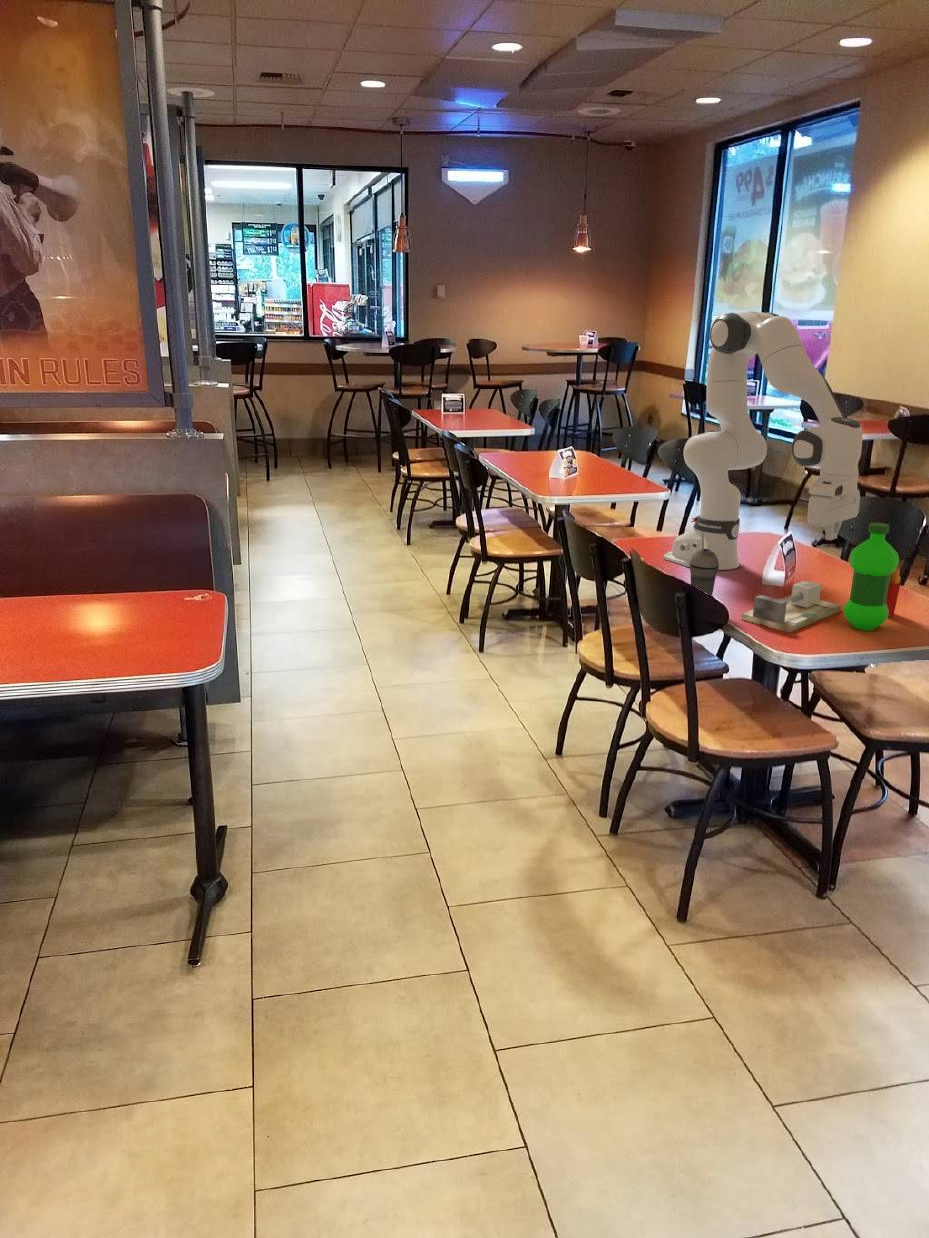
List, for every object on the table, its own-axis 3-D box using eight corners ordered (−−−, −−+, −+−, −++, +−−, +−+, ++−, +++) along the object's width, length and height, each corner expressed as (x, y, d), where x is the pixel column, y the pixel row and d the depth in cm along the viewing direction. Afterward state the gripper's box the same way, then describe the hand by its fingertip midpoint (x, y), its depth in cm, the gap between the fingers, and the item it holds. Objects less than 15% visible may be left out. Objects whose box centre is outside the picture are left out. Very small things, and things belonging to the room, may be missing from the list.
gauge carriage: (784, 606, 229) (787, 585, 227) (802, 599, 235) (805, 578, 233) (815, 613, 223) (818, 592, 221) (833, 606, 229) (836, 585, 227)
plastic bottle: (834, 627, 219) (848, 525, 211) (851, 617, 227) (865, 517, 219) (877, 636, 213) (893, 531, 205) (893, 626, 220) (909, 524, 212)
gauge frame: (741, 619, 225) (743, 594, 222) (793, 599, 240) (796, 575, 238) (789, 632, 215) (793, 606, 213) (840, 610, 231) (844, 586, 229)
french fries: (898, 617, 227) (906, 570, 223) (883, 618, 226) (891, 571, 222) (879, 607, 235) (886, 561, 231) (865, 607, 234) (872, 562, 230)
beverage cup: (707, 615, 227) (715, 536, 221) (680, 609, 232) (687, 532, 225) (719, 608, 233) (727, 531, 227) (692, 602, 237) (699, 527, 231)
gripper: (845, 478, 236) (838, 531, 241) (805, 487, 223) (799, 543, 228) (869, 481, 232) (862, 535, 236) (830, 491, 219) (823, 547, 223)
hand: (830, 539), depth 232 cm, fingers closed
